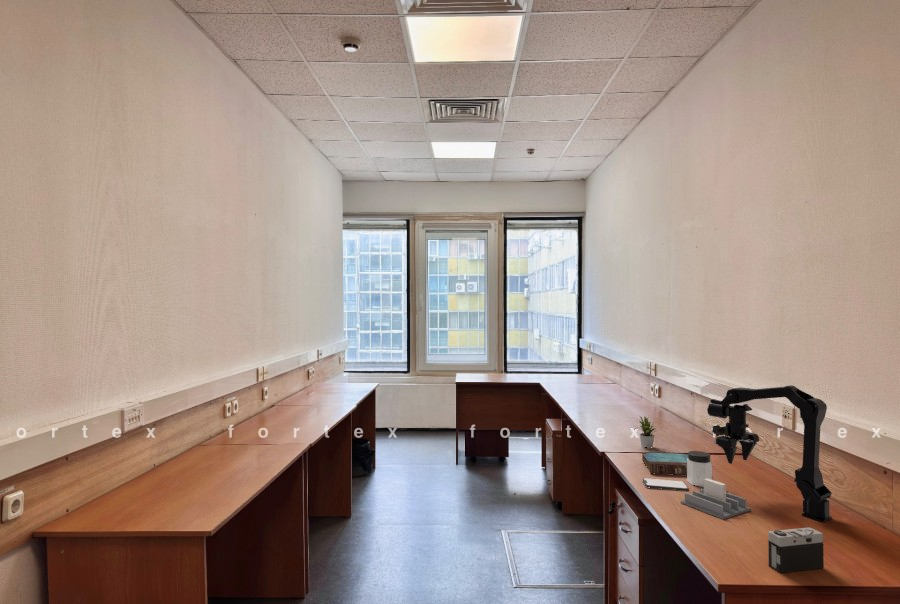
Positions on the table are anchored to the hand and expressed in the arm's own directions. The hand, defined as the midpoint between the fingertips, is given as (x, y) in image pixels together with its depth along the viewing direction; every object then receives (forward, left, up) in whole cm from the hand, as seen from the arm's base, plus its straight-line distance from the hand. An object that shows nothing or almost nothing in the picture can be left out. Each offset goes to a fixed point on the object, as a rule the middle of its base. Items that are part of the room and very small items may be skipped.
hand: (737, 461), depth 192 cm
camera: (-39, +40, -12) cm, 57 cm away
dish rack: (-4, +20, -12) cm, 24 cm away
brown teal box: (+31, -3, -13) cm, 34 cm away
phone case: (+19, +18, -13) cm, 29 cm away
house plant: (+62, -22, -12) cm, 67 cm away
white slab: (-4, +20, -11) cm, 23 cm away
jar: (+14, +3, -12) cm, 19 cm away
